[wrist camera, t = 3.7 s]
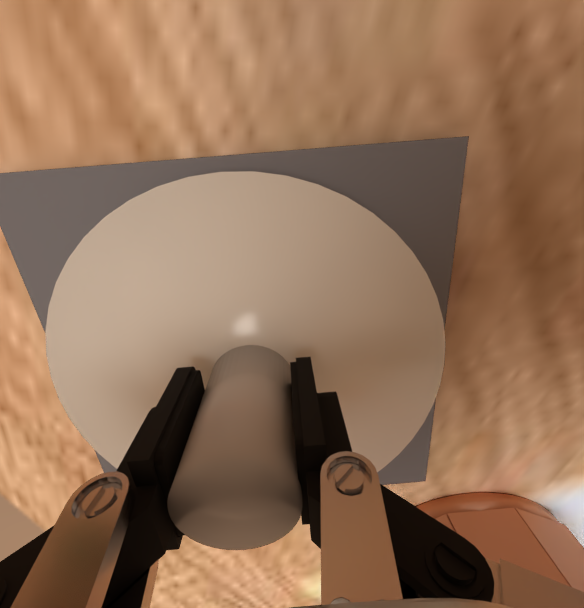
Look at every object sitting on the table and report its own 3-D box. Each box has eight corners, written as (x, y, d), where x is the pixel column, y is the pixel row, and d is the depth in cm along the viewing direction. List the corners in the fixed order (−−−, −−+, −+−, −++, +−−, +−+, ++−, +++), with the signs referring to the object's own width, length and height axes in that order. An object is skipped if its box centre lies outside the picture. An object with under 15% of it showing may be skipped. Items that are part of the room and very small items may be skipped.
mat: (459, 138, 11) (468, 136, 10) (420, 470, 17) (425, 481, 16) (-6, 175, 11) (-22, 174, 10) (124, 497, 17) (119, 507, 16)
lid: (451, 153, 10) (663, 124, 5) (417, 474, 16) (493, 639, 10) (0, 191, 10) (-350, 209, 5) (126, 500, 16) (41, 681, 10)
